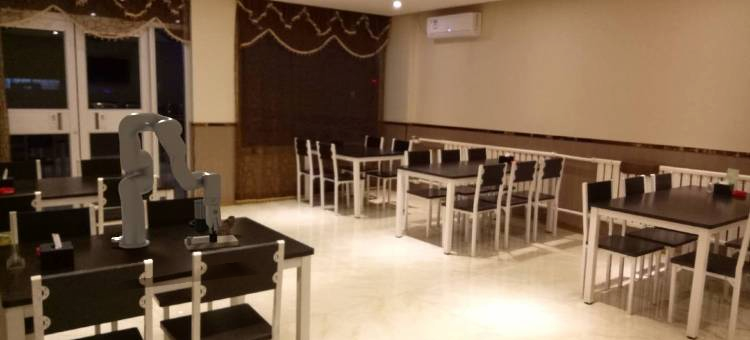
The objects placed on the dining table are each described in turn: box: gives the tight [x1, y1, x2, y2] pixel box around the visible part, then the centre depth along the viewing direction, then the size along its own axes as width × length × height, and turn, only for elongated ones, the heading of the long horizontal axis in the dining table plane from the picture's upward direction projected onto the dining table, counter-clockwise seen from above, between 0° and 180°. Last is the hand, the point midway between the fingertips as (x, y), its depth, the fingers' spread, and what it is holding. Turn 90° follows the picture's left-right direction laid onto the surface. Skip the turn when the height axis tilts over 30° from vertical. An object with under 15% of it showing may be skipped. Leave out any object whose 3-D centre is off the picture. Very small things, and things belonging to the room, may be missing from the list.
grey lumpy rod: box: [186, 235, 209, 244], centre depth 254 cm, size 13×3×3 cm, turn 117°
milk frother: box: [188, 198, 209, 232], centre depth 291 cm, size 14×16×15 cm
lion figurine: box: [206, 215, 237, 236], centre depth 277 cm, size 15×5×9 cm, turn 130°
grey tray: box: [184, 234, 239, 251], centre depth 259 cm, size 22×12×4 cm, turn 116°
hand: (213, 241), depth 250 cm, fingers closed
